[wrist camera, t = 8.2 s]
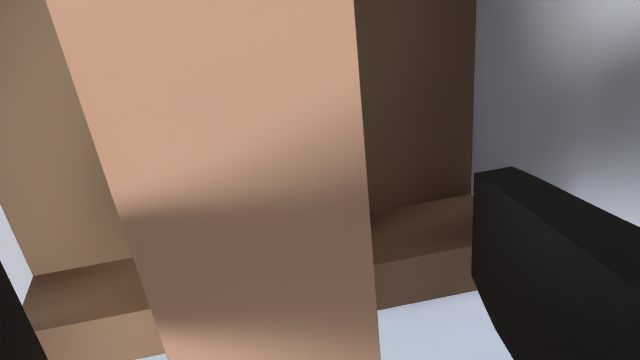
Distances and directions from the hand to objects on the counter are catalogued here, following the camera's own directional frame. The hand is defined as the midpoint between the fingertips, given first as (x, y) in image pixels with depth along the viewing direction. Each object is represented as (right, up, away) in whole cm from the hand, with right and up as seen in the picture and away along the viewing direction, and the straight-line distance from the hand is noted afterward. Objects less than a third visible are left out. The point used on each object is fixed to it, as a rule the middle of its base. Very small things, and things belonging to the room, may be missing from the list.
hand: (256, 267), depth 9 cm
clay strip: (-1, +2, +3) cm, 4 cm away
